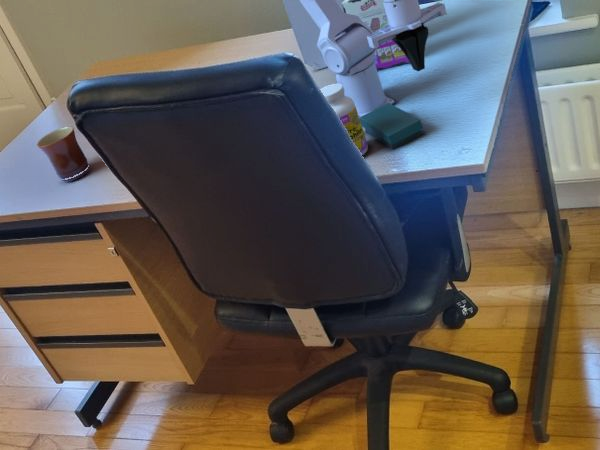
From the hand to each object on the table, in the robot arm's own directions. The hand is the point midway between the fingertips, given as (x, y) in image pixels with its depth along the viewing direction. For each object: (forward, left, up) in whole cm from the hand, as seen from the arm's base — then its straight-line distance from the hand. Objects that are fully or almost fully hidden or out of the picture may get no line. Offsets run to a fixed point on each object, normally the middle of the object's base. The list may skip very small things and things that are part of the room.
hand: (419, 68), depth 138 cm
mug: (-54, -65, -9) cm, 85 cm away
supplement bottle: (+1, -17, -9) cm, 19 cm away
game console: (-43, +7, -9) cm, 45 cm away
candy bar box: (-30, +7, -9) cm, 33 cm away
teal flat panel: (+1, -8, -9) cm, 12 cm away
